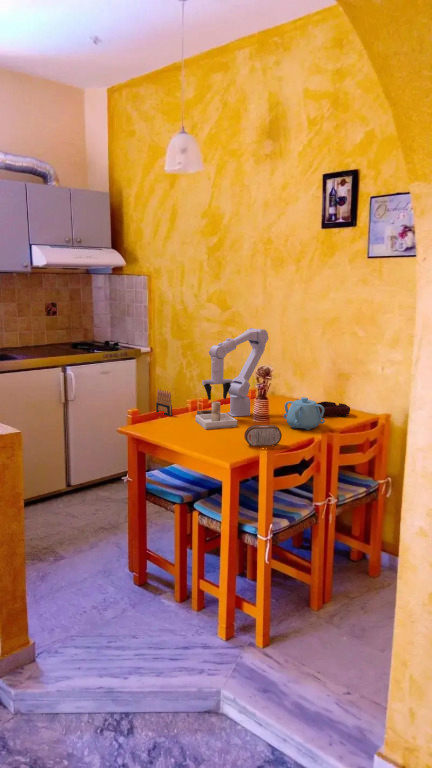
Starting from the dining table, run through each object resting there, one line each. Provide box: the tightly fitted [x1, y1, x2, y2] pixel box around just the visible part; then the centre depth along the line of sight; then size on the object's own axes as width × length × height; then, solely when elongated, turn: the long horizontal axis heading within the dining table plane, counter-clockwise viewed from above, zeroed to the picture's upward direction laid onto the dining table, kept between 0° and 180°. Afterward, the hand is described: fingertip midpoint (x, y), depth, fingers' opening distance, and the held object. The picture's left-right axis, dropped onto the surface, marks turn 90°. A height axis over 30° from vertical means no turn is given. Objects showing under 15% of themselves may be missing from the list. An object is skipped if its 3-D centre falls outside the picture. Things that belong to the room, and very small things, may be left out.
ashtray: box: [316, 401, 351, 418], centre depth 291 cm, size 18×16×5 cm
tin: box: [243, 424, 283, 447], centre depth 236 cm, size 15×3×8 cm, turn 99°
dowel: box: [211, 401, 221, 422], centre depth 269 cm, size 4×4×9 cm
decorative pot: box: [283, 396, 326, 431], centre depth 265 cm, size 16×16×14 cm
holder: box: [196, 409, 212, 415], centre depth 284 cm, size 8×8×2 cm
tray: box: [195, 412, 238, 430], centre depth 269 cm, size 15×15×3 cm
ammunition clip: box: [155, 388, 173, 417], centre depth 287 cm, size 11×2×12 cm, turn 43°
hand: (217, 399), depth 278 cm, fingers open, 7 cm apart
